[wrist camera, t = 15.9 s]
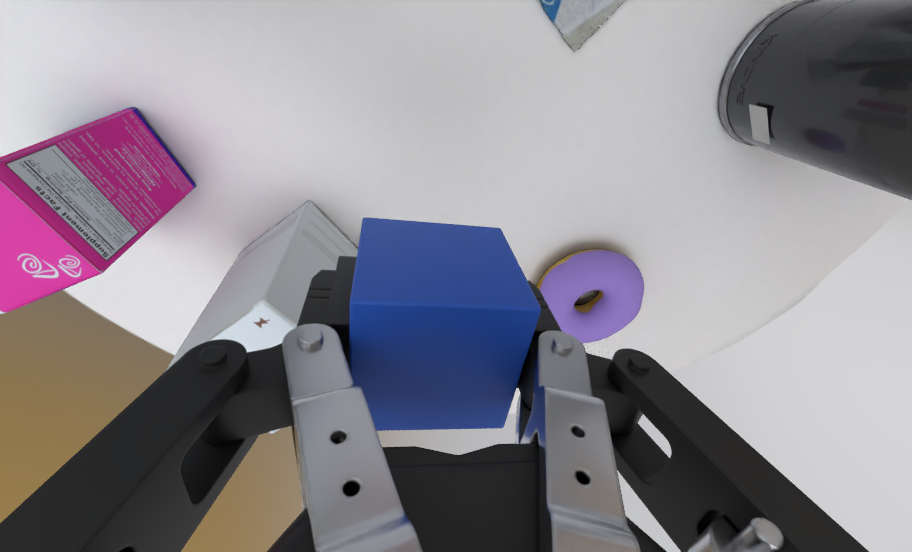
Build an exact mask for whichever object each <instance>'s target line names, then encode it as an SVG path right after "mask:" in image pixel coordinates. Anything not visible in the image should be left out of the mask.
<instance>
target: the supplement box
mask: <svg viewBox="0 0 912 552" xmlns="http://www.w3.org/2000/svg"><path fill="white" fill-rule="evenodd" d="M195 187H196V185H195V184H194V182H193V181H192V180H191V179H190V177H189V176H188V175H187V173H186V172H185V171H184V170H183V168H182V167H181V166H180V164H179V163H178V162H177V161H176V159H175V158H174V157H173V155H172V154H171V153H170V152H169V150H168V149H167V148H166V146H165V145H164V144H163V143H162V141H161V140H160V139H159V138H158V136H157V135H156V134H155V132H154V131H153V130H152V129H151V127H150V126H149V125H148V123H147V122H146V121H145V119H144V118H143V117H142V115H141V114H140V113H139V111H138V110H137V109H136V108H135V107H131V108H127V109H125V110H122V111H119V112H117V113H114V114H111V115H109V116H106V117H104V118H101V119H98V120H96V121H93V122H91V123H88V124H85V125H83V126H80V127H78V128H75V129H72V130H70V131H67V132H65V133H62V134H60V135H57V136H55V137H52V138H50V139H47V140H45V141H42V142H39V143H37V144H34V145H32V146H29V147H26V148H24V149H21V150H18V151H16V152H13V153H10V154H8V155H5V156H3V157H0V314H3V313H7V312H9V311H11V310H14V309H17V308H19V307H22V306H24V305H27V304H29V303H31V302H34V301H36V300H39V299H41V298H43V297H46V296H48V295H51V294H53V293H55V292H58V291H60V290H63V289H65V288H68V287H70V286H72V285H75V284H77V283H79V282H82V281H84V280H87V279H89V278H92V277H94V276H97V275H99V274H101V273H103V272H104V271H105V270H106V269H107V268H108V267H109V266H110V265H111V264H112V263H114V262H115V261H116V260H117V259H118V258H119V257H120V256H121V255H122V254H123V253H124V252H125V251H127V250H128V249H129V248H130V247H131V246H132V245H133V244H134V243H135V242H136V241H137V240H138V239H139V238H141V237H142V236H143V235H144V234H145V233H146V232H147V231H148V230H149V229H150V228H151V227H153V226H154V225H155V224H156V223H157V222H158V221H159V220H160V219H161V218H162V217H163V216H164V215H165V214H167V213H168V212H169V211H170V210H171V209H172V208H173V207H174V206H175V205H176V204H178V203H179V202H180V201H181V200H182V199H183V198H184V197H185V196H186V195H187V194H188V193H189V192H190V191H192V190H193V189H194V188H195Z"/></svg>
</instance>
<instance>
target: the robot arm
mask: <svg viewBox="0 0 912 552" xmlns="http://www.w3.org/2000/svg"><path fill="white" fill-rule="evenodd" d="M719 112H720V118H721V121H722V124H723V126H724V128H725V130H726V131H727V132H728V134H729V135H730V136H731V137H733V138H734V139H736V140H737V141H739V142H742V143H745V144H748V145H751V146H758V147H761V148H764V149H767V150H769V151H772V152H775V153H778V154H781V155H783V156H786V157H789V158H792V159H794V160H797V161H800V162H803V163H806V164H809V165H812V166H815V167H818V168H820V169H823V170H826V171H829V172H832V173H835V174H838V175H841V176H844V177H846V178H849V179H852V180H855V181H858V182H861V183H864V184H867V185H870V186H872V187H875V188H878V189H881V190H884V191H887V192H890V193H893V194H896V195H898V196H901V197H904V198H907V199H910V200H912V0H800V1H797V2H794V3H792V4H789V5H787V6H785V7H783V8H781V9H779V10H778V11H776V12H775V13H773V14H772V15H770V16H769V17H768V18H766V19H765V20H764V21H763V22H762V23H760V24H759V25H758V26H757V27H756V28H755V29H754V30H753V31H752V32H751V33H750V35H749V36H748V37H747V38H746V39H745V41H744V42H743V43H742V44H741V46H740V47H739V49H738V50H737V52H736V53H735V55H734V57H733V59H732V60H731V62H730V64H729V66H728V69H727V71H726V73H725V76H724V79H723V82H722V86H721V90H720V96H719ZM356 259H357V257H355V256H339V258H338V262H337V267H336V270H320V271H319V272H318V273H317V274H316V275H315V276H314V277H313V278H312V280H311V283H310V286H309V290H308V292H307V295H306V299H305V302H304V305H303V308H302V311H301V314H300V318H299V321H298V324H297V327H296V328H294V329H292V330H290V331H289V332H288V333H287V334H286V335H285V336H284V338H283V341H282V343H281V344H279V345H276V346H274V347H271V348H266V349H262V350H257V351H252V352H247V351H246V348H245V347H244V346H243V345H242V344H241V343H239V342H237V341H233V340H228V339H219V340H212V341H208V342H204V343H202V344H199V345H197V346H195V347H193V348H192V349H190V350H189V351H188V352H186V353H185V354H184V355H183V356H182V357H181V358H180V359H179V360H178V361H176V362H175V363H174V364H173V365H172V366H171V367H170V368H169V369H168V370H167V371H166V372H165V373H163V374H162V375H161V376H160V377H159V378H158V379H157V380H156V381H155V382H154V383H153V384H151V385H150V387H148V388H147V389H146V390H145V391H144V392H143V393H142V394H141V395H140V396H139V397H137V398H136V399H135V400H134V401H133V402H132V403H131V404H130V405H129V406H128V407H126V408H125V409H124V410H123V411H122V412H121V413H120V414H119V415H118V416H117V417H116V418H115V419H114V420H112V421H111V422H110V423H109V424H108V425H107V426H106V427H105V428H104V429H103V430H102V431H100V432H99V433H98V434H97V435H96V436H95V437H94V438H93V439H92V440H91V441H90V442H89V443H87V444H86V445H85V446H84V447H83V448H82V449H81V450H80V451H79V452H78V453H76V454H75V455H74V456H73V457H72V458H71V459H70V460H69V461H68V462H67V463H66V464H65V465H63V466H62V467H61V468H60V469H59V470H58V471H57V472H56V473H55V474H54V475H53V476H51V477H50V478H49V479H48V480H47V481H46V482H45V483H44V484H43V485H42V486H41V487H39V488H38V489H37V490H36V491H35V492H34V493H33V494H32V495H31V496H30V497H29V498H28V499H26V500H25V501H24V502H23V503H22V504H21V505H20V506H19V507H18V508H17V509H16V510H15V511H13V512H12V513H11V514H10V515H9V516H8V517H7V518H6V519H5V520H4V521H2V522H1V523H0V552H181V551H182V549H183V548H184V546H185V544H186V543H187V542H188V540H189V538H190V537H191V535H192V534H193V533H194V531H195V530H196V528H197V527H198V525H199V524H200V522H201V521H202V519H203V518H204V516H205V515H206V513H207V512H208V510H209V509H210V507H211V506H212V504H213V503H214V501H215V500H216V498H217V497H218V495H219V494H220V493H221V491H222V490H223V488H224V487H225V485H226V483H227V482H228V481H229V479H230V478H231V476H232V475H233V473H234V472H235V470H236V469H237V467H238V466H239V464H240V463H241V461H242V460H243V458H244V457H245V455H246V454H247V452H248V451H249V449H250V448H251V446H252V445H253V444H254V442H255V441H256V439H257V437H258V435H260V434H263V433H267V432H270V431H274V430H277V429H281V428H284V427H288V426H291V428H292V434H293V441H294V448H295V455H296V462H297V468H298V475H299V483H300V491H301V498H302V506H303V512H302V513H301V514H300V515H299V516H298V517H297V518H296V520H295V521H294V522H293V523H292V524H291V525H290V526H289V528H287V530H286V531H285V532H284V533H283V534H282V535H281V536H280V537H279V539H278V540H277V541H276V542H275V543H274V544H273V545H272V546H271V548H270V549H269V550H268V551H267V552H666V551H665V550H664V549H663V548H662V547H660V546H659V545H658V544H657V543H656V542H655V541H654V540H652V539H651V538H650V537H649V536H648V535H647V534H646V533H644V532H643V531H642V530H641V529H640V528H639V527H638V526H637V525H635V524H634V523H633V522H632V521H631V520H630V519H629V518H627V517H626V516H625V511H624V505H623V500H622V494H621V489H620V484H619V478H618V473H617V470H618V471H619V473H620V474H621V475H622V476H623V478H624V479H625V480H626V481H627V483H628V484H629V485H630V486H631V488H632V489H633V490H634V492H635V493H636V494H637V496H638V497H639V498H640V499H641V501H642V502H643V503H644V504H645V506H646V507H647V508H648V510H649V511H650V512H651V513H652V515H653V516H654V517H655V518H656V520H657V521H658V522H659V524H660V525H661V526H662V527H663V529H664V530H665V531H666V533H667V534H668V535H669V536H670V538H671V539H672V540H673V542H674V543H675V544H676V545H677V547H678V548H679V549H680V550H681V552H869V551H868V550H866V549H865V548H864V547H863V546H862V545H861V544H860V543H858V541H856V540H855V539H854V538H853V537H852V536H851V535H850V534H849V533H847V532H846V531H845V530H844V529H843V528H842V527H841V526H840V525H839V524H837V523H836V522H835V521H834V520H833V519H832V518H831V517H829V516H828V515H827V514H826V513H825V512H824V511H823V510H822V509H821V508H819V507H818V506H817V505H816V504H815V503H814V502H813V501H812V500H810V498H808V497H807V496H806V495H805V494H804V493H803V492H802V491H801V490H799V489H798V488H797V487H796V486H795V485H794V484H793V483H792V482H790V481H789V480H788V479H787V478H786V477H785V476H784V475H783V474H781V473H780V472H779V471H778V470H777V469H776V468H775V467H774V466H772V465H771V464H770V463H769V462H768V461H767V460H766V459H765V458H764V457H763V456H761V455H760V454H759V453H758V452H757V451H756V450H755V449H754V448H752V447H751V446H750V445H749V444H748V443H747V442H745V440H744V439H742V438H741V437H740V436H739V435H738V434H737V433H736V432H734V431H733V430H732V429H731V428H730V427H729V426H728V425H727V424H726V423H724V422H723V421H722V420H721V419H720V418H719V417H718V416H717V415H715V414H714V413H713V412H712V411H711V410H710V409H709V408H708V407H706V406H705V405H704V404H703V403H702V402H701V401H700V400H699V399H698V398H697V397H695V396H694V395H693V394H692V393H691V392H690V391H689V390H688V389H686V388H685V387H684V386H683V385H682V384H681V383H680V382H679V381H677V380H676V379H675V378H674V377H673V376H672V375H671V374H670V373H669V372H667V371H666V370H665V369H664V368H663V367H662V366H661V365H660V364H659V363H657V362H656V361H655V360H654V359H653V358H651V357H650V356H648V355H646V354H645V353H642V352H640V351H637V350H633V349H620V350H618V351H616V353H615V354H614V356H613V358H612V360H611V359H607V358H603V357H599V356H595V355H591V354H588V353H586V351H585V348H584V346H583V344H582V343H581V342H580V341H579V340H578V339H576V338H575V337H573V336H572V335H570V334H568V333H565V332H562V330H561V328H560V327H559V325H558V323H557V321H556V319H555V317H554V316H553V314H552V312H551V310H550V308H549V306H548V304H547V303H546V301H544V297H543V295H542V293H541V291H540V290H539V289H538V288H537V287H536V286H535V285H534V284H532V283H531V282H530V281H528V283H529V285H530V287H531V289H532V291H533V293H534V295H535V297H536V299H537V301H538V303H539V305H540V307H541V313H540V316H539V319H538V322H537V325H536V328H535V331H534V334H533V337H532V341H531V344H530V347H529V350H528V353H527V356H526V359H525V362H524V365H523V369H522V372H521V375H520V378H519V381H518V384H517V387H516V388H519V390H520V396H519V399H518V403H517V416H516V433H515V444H497V445H493V446H490V447H487V448H483V449H480V450H476V451H473V452H469V453H466V454H462V455H453V454H449V453H443V452H439V451H434V450H430V449H425V448H420V447H415V446H414V447H382V446H381V443H380V440H379V437H378V434H377V431H376V428H375V425H374V422H373V419H372V416H371V413H370V410H369V407H368V404H367V402H366V399H365V396H364V393H363V390H362V388H361V386H360V385H359V384H358V385H354V382H353V379H352V376H351V373H350V370H349V333H350V297H351V291H352V284H353V278H354V272H355V265H356ZM642 414H644V415H645V416H646V417H647V418H648V419H649V420H650V421H651V423H652V424H653V425H654V426H655V427H656V428H657V429H658V430H659V431H660V432H661V433H662V434H663V435H664V436H665V438H666V439H667V440H668V441H669V444H670V446H671V450H672V455H671V458H669V457H668V456H667V455H666V454H665V453H664V452H663V451H662V450H661V448H660V447H659V446H658V445H657V444H656V443H655V442H654V441H653V440H652V439H651V437H650V436H648V434H647V433H646V432H645V431H644V430H643V429H642V428H641V427H640V425H639V424H638V421H639V419H640V418H641V416H642Z"/></svg>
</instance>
